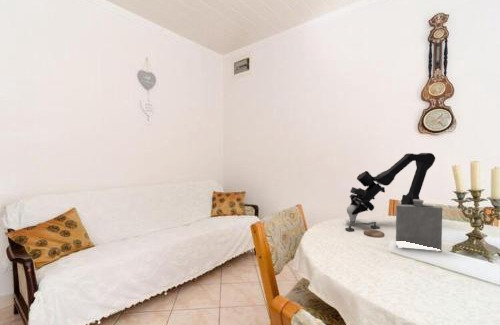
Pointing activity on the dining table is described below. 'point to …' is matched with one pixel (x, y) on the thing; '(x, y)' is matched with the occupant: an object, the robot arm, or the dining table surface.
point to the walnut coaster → (374, 233)
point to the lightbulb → (349, 211)
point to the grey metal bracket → (362, 223)
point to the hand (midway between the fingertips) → (350, 212)
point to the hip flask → (419, 224)
